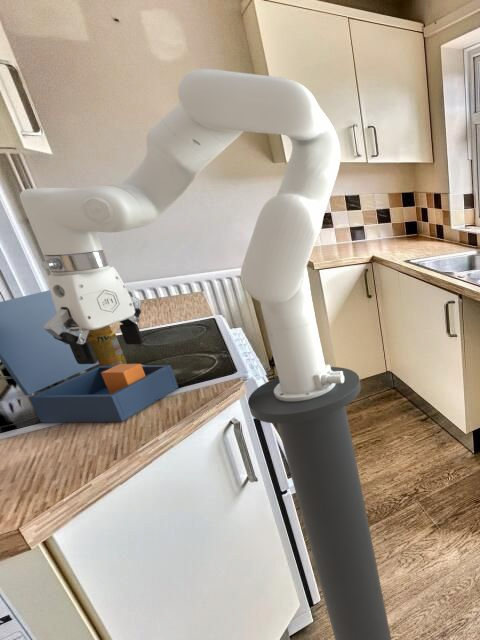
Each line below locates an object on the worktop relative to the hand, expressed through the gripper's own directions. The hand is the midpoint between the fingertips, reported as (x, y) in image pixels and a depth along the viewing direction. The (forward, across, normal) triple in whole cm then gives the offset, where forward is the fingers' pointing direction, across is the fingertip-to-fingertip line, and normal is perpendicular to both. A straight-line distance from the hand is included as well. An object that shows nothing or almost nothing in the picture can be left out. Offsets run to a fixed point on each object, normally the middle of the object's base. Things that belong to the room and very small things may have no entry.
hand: (112, 353), depth 80 cm
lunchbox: (+11, 0, +4) cm, 12 cm away
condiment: (+11, +15, +18) cm, 26 cm away
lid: (-3, 0, +13) cm, 13 cm away
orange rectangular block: (+10, 0, 0) cm, 10 cm away
